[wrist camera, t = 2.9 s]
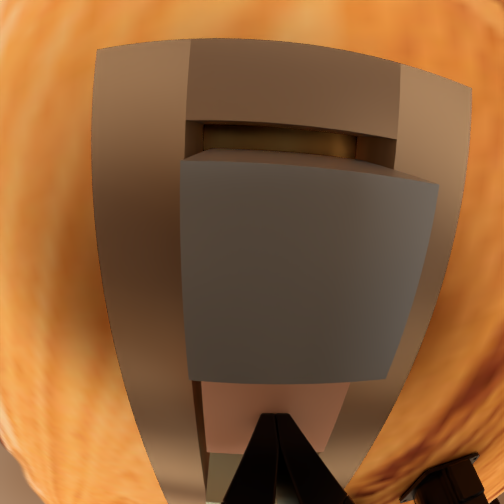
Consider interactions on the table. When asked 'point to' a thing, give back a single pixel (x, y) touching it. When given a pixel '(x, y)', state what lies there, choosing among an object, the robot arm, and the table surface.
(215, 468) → the key sage
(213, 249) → the gray cube
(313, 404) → the pink cube
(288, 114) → the key bezel
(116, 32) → the table surface
